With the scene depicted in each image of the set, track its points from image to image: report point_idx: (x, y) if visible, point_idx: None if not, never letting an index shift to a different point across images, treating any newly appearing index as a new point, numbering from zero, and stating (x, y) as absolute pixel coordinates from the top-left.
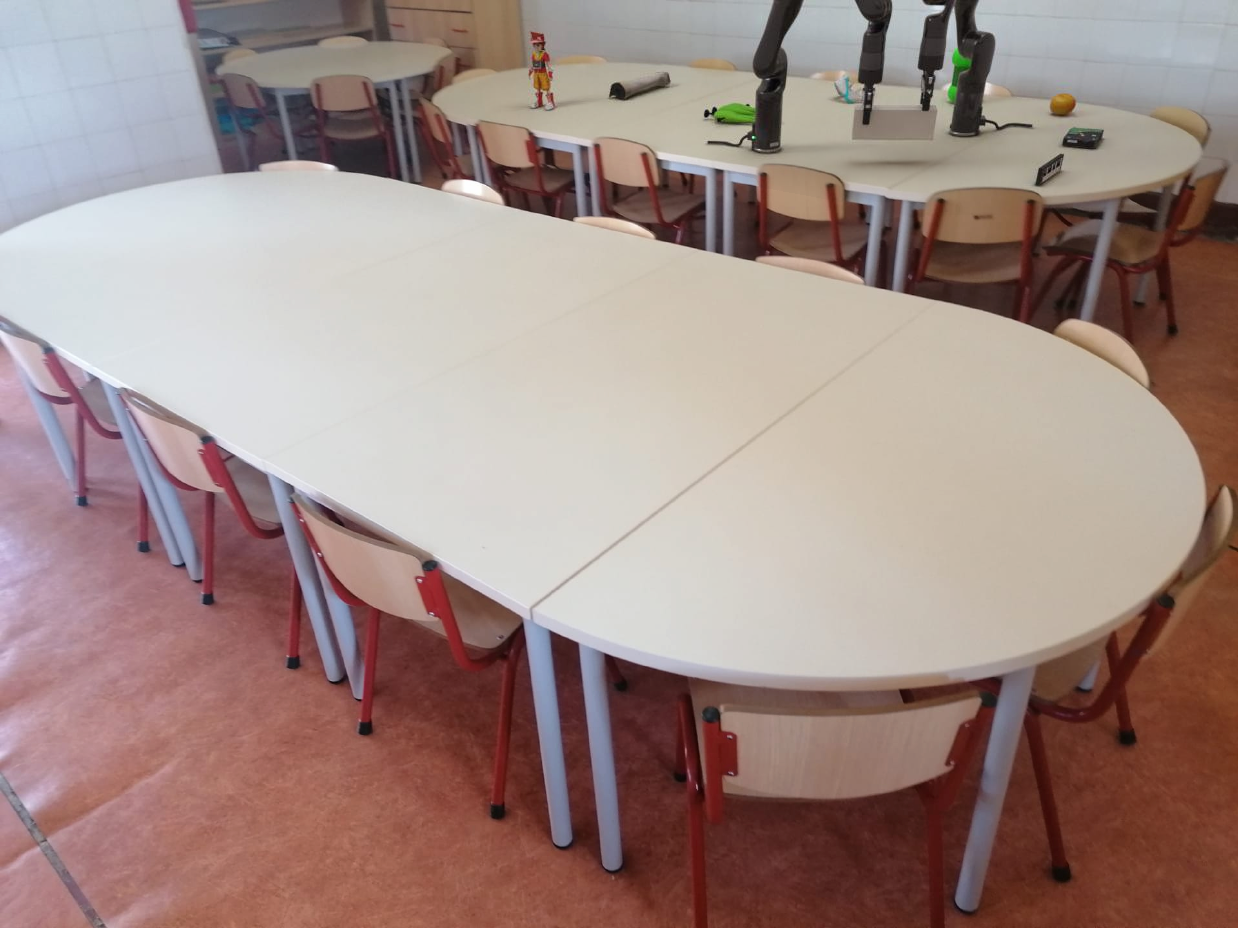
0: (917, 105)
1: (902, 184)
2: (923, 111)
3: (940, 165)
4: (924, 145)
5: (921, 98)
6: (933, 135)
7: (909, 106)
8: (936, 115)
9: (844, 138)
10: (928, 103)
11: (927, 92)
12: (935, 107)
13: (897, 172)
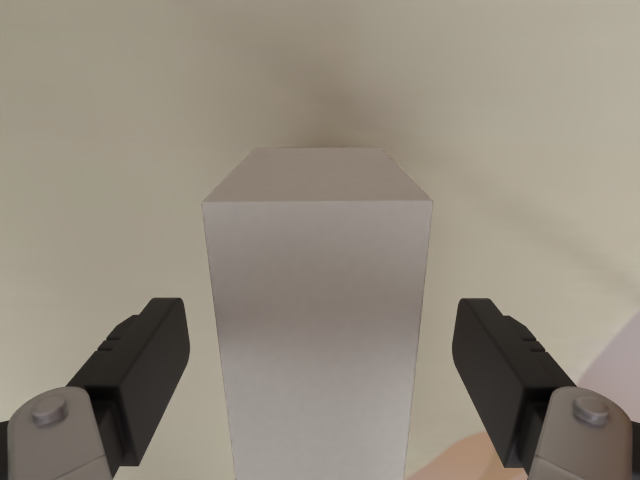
0: (232, 379)
1: (612, 254)
2: (414, 327)
3: (356, 70)
4: (11, 127)
5: (166, 398)
6: (384, 153)
7: (276, 438)
8: (417, 187)
9: None
10: (554, 369)
11: (118, 404)
12: (310, 214)
13: (452, 265)
